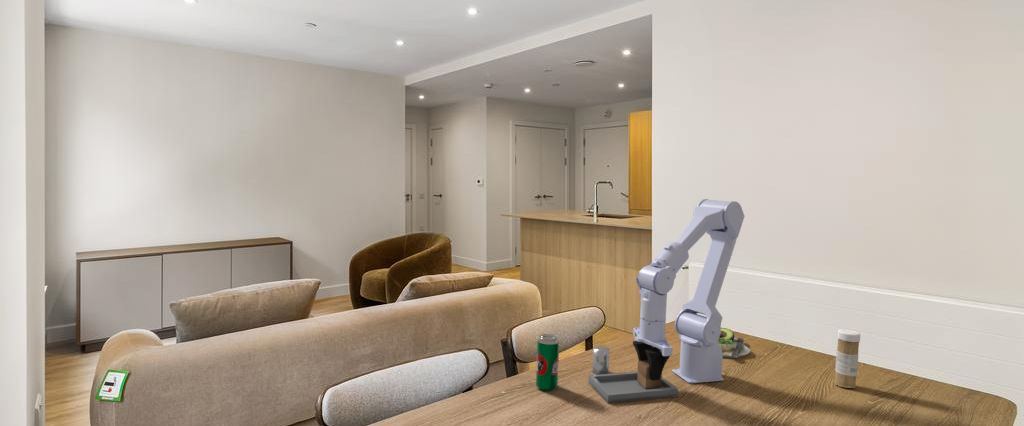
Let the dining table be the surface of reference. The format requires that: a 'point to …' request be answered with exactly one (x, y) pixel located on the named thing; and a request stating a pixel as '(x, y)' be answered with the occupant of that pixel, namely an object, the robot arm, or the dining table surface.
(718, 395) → the dining table surface
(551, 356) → the soda can
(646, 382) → the walnut block
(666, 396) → the tray
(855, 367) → the sprinkles bottle
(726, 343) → the salad plate
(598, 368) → the steel cylinder
